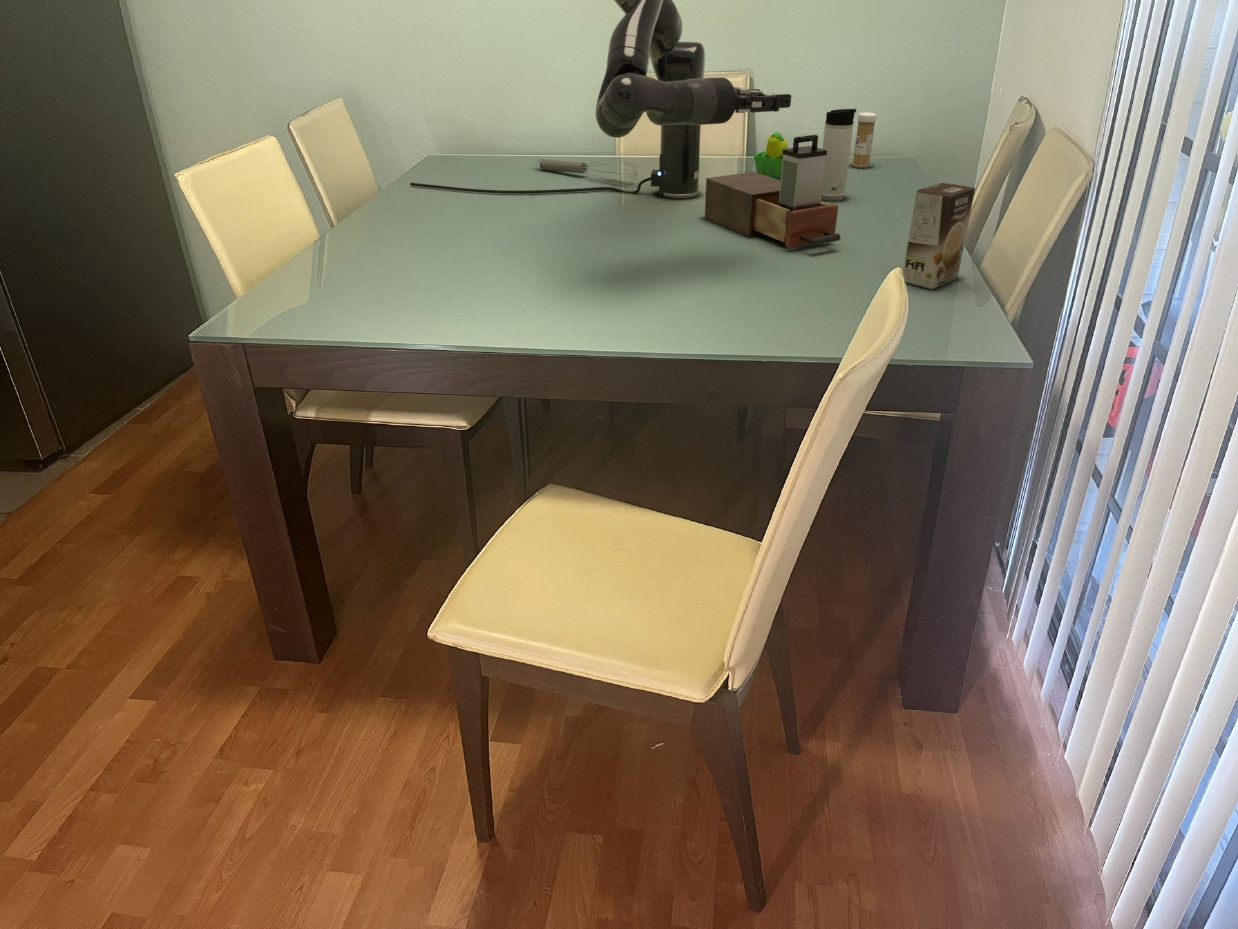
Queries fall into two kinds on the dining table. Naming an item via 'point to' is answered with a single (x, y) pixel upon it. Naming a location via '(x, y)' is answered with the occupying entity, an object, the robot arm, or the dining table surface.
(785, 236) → the drawer
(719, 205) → the cabinet
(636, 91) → the robot arm
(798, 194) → the grater
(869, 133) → the sprinkles bottle
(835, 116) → the travel mug
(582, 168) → the kitchen whisk
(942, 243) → the coffee box
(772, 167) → the fruit basket
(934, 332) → the dining table surface
